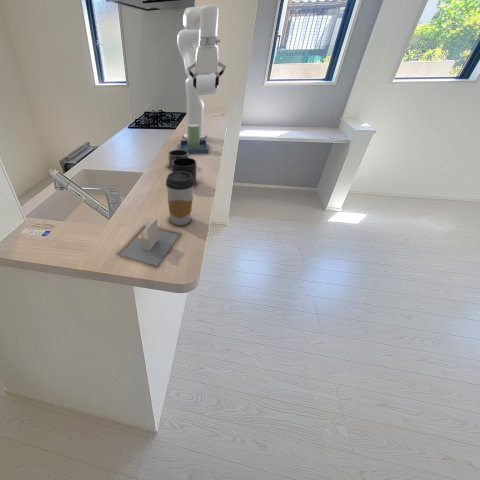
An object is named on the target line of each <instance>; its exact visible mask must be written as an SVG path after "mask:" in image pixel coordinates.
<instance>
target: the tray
mask: <svg viewBox="0 0 480 480" xmlns="http://www.w3.org/2000/svg"><path fill="white" fill-rule="evenodd" d="M178 150H186V151H188V155H189V154H208V153H209V147H208V142H207V139H200V145H199V149H187V139H180V141H179V149H178Z"/></svg>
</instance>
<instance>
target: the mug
mask: <svg viewBox="0 0 480 480" xmlns="http://www.w3.org/2000/svg"><path fill="white" fill-rule="evenodd" d="M177 171H184V172H189V173H191V174H192V175H193V178H194V186H195V185H196V183H197V160H195V159H194V158H191V157H188V158H178V159H175V160H173V161H172V169H171V173H173V172H177Z"/></svg>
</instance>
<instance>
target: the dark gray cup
mask: <svg viewBox="0 0 480 480" xmlns="http://www.w3.org/2000/svg"><path fill="white" fill-rule="evenodd" d="M178 158H189V154H188V151H186V150H179V149H173V150H170V151H168V167H169V169H171V170H172V161H173V160H175V159H178Z"/></svg>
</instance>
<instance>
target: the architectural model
mask: <svg viewBox="0 0 480 480" xmlns="http://www.w3.org/2000/svg"><path fill="white" fill-rule="evenodd" d="M179 236H180V234H177V233H174V232H169V231H165V230H161V229H159V226H158V217H156V218H155V219H152V220H146V223H145V227H144V228H143V229H142V230H141V232H139V234H138V235H137V236H136V237H135V238H134V239H133V240H132V241H131V243H130V244H129V245H127V246H126V248H125V249H124V250H122V252H121V253H120V254H119V256H122V257H125V258H128V259H131V260H136V261H138V262H142V263H145V264H149V265H152V266H155V267H157V266H158V265H159V264H160V262H161V261H162V259H164V257H165V255H166V254H167V253H168V252H169V250H170V249H171V247H172V246H173V244H174V243H175V241H176V240H177V239H178V237H179Z"/></svg>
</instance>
